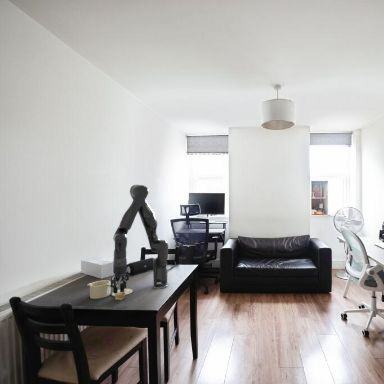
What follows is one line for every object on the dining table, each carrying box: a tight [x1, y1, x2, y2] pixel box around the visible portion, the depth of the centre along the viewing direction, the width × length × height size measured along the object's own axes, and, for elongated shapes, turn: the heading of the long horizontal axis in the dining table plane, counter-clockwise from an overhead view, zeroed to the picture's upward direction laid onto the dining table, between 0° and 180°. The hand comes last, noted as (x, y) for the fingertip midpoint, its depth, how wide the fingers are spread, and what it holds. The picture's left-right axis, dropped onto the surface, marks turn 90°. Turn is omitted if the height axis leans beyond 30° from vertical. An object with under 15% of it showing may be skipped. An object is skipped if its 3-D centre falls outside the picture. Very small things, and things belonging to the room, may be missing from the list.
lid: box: [111, 281, 133, 297], centre depth 175 cm, size 12×12×7 cm
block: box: [114, 292, 126, 301], centre depth 165 cm, size 4×4×4 cm
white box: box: [80, 257, 115, 280], centre depth 221 cm, size 32×11×11 cm, turn 58°
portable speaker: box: [127, 257, 155, 276], centre depth 224 cm, size 26×10×10 cm, turn 148°
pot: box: [87, 279, 112, 300], centre depth 172 cm, size 11×17×8 cm
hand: (120, 290), depth 165 cm, fingers open, 8 cm apart
